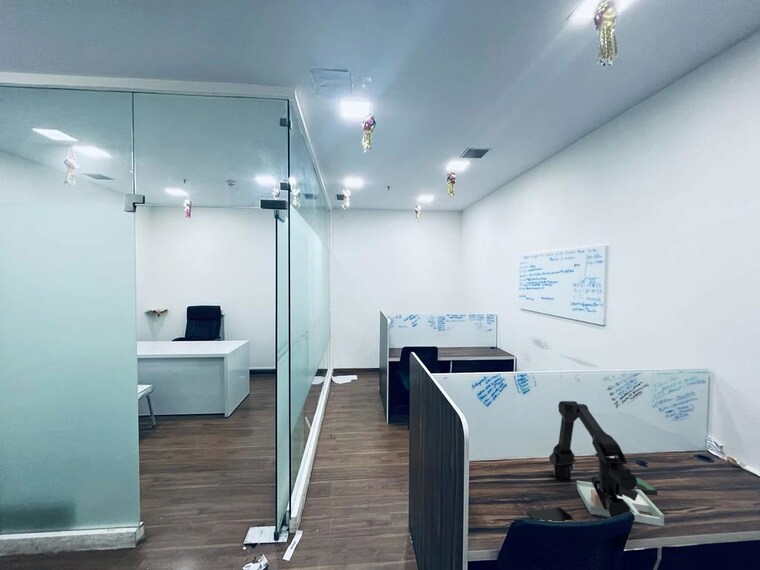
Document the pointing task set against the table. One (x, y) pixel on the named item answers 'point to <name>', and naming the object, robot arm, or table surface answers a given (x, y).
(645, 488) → the disk drive
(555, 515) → the smartphone
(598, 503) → the terracotta block
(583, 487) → the box
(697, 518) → the table surface
